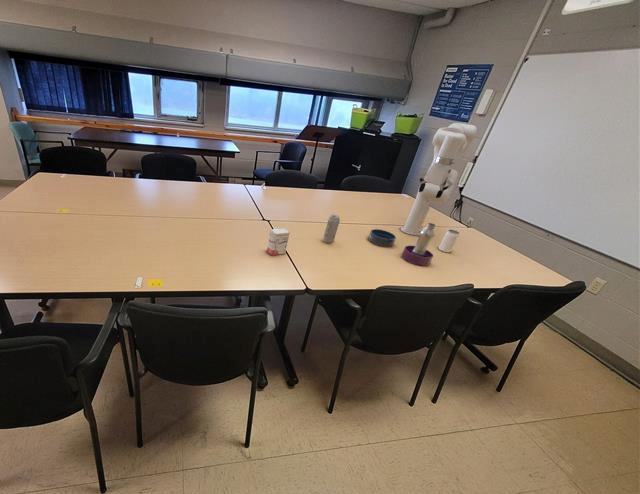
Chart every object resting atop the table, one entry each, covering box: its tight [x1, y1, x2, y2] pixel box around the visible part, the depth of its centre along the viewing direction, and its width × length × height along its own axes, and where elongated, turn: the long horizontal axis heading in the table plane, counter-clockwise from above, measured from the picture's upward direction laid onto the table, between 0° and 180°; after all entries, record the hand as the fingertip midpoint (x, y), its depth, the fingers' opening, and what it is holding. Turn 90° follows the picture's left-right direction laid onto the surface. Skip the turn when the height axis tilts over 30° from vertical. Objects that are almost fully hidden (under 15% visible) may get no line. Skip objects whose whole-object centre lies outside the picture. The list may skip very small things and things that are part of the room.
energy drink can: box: [322, 214, 341, 244], centre depth 174 cm, size 6×6×15 cm
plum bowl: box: [401, 245, 434, 266], centre depth 170 cm, size 14×14×5 cm
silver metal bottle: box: [411, 222, 436, 257], centre depth 166 cm, size 6×7×20 cm
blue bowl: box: [367, 228, 397, 248], centre depth 186 cm, size 14×14×5 cm
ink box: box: [266, 227, 290, 256], centre depth 156 cm, size 9×5×12 cm, turn 118°
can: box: [438, 229, 460, 253], centre depth 185 cm, size 6×6×12 cm
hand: (428, 194), depth 167 cm, fingers open, 9 cm apart
